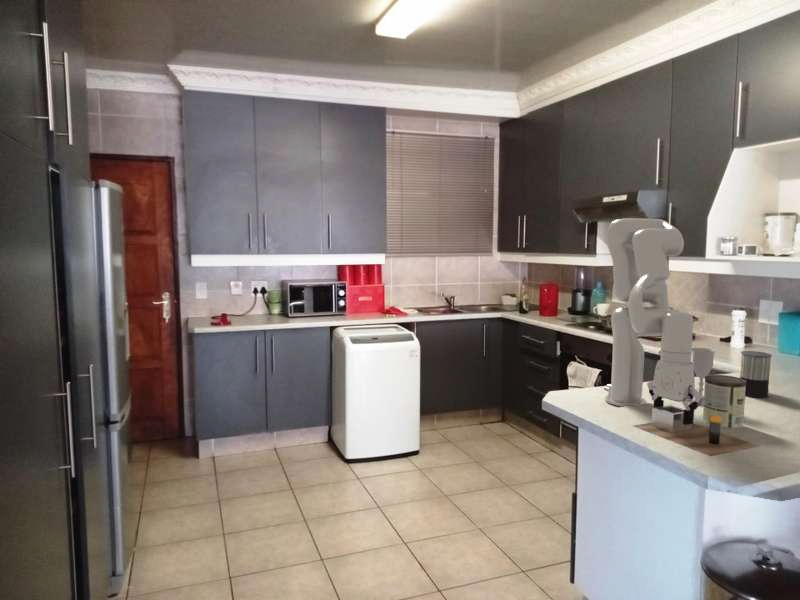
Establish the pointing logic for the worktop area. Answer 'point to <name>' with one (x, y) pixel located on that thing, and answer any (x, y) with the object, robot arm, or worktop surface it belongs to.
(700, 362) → the chalice
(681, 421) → the white hollow square box
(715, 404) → the coffee can
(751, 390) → the milk frother
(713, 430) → the post
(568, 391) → the worktop surface
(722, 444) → the board
